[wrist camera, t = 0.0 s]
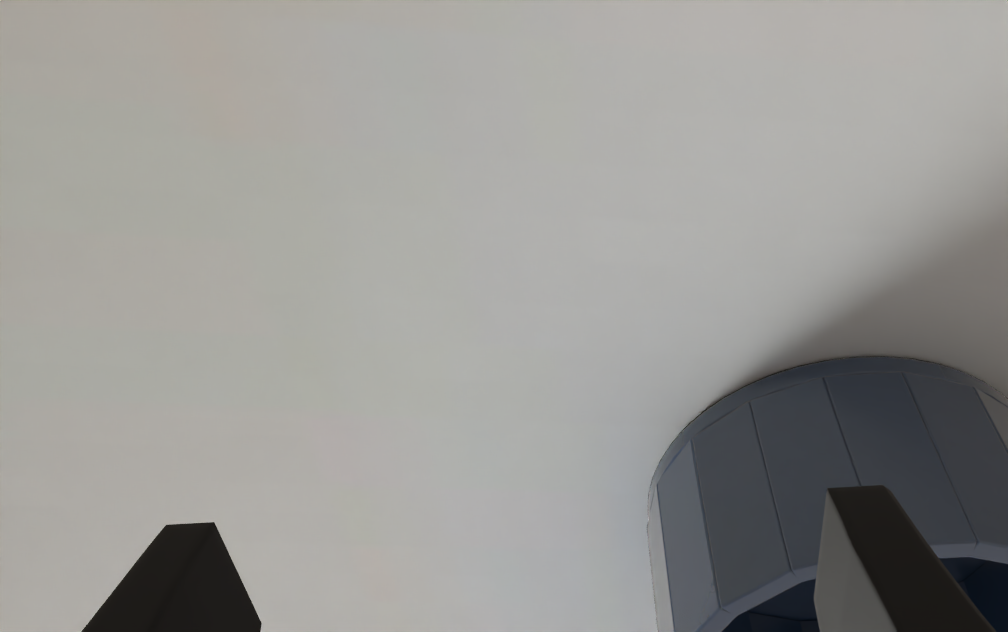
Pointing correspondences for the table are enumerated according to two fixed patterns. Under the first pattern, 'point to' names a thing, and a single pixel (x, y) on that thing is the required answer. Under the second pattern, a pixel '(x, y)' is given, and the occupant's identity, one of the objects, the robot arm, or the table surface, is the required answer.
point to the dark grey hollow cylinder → (825, 488)
